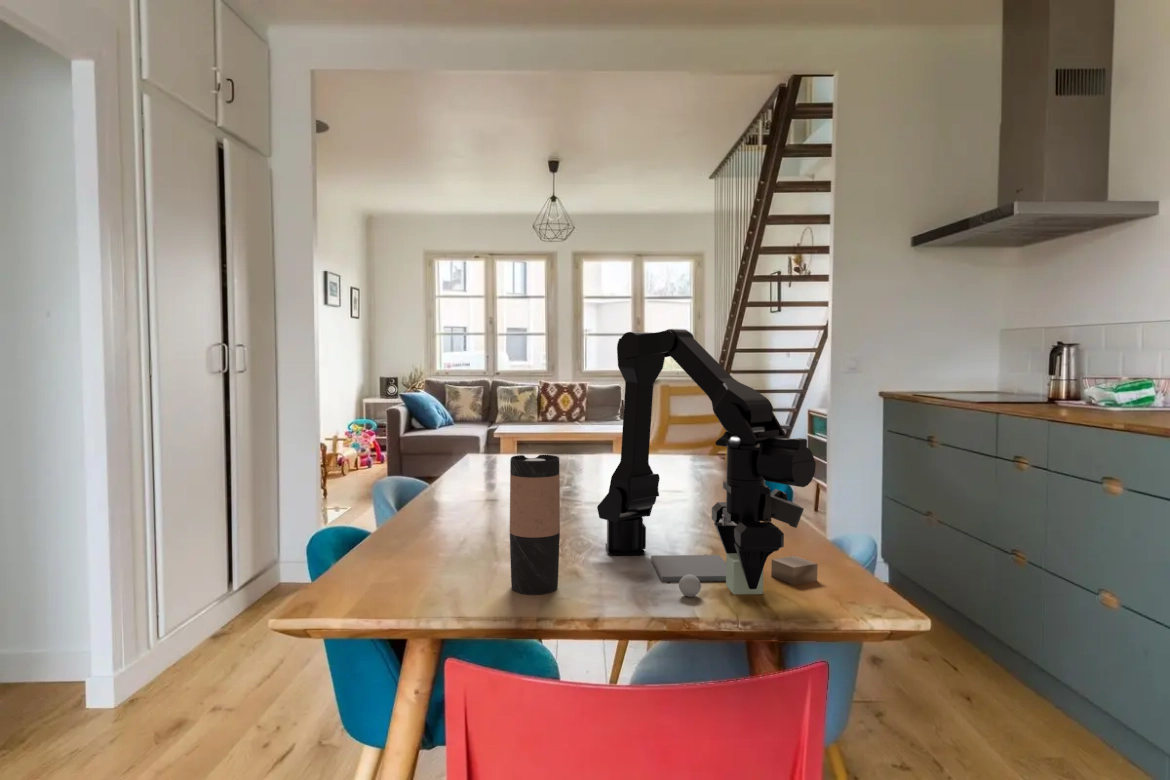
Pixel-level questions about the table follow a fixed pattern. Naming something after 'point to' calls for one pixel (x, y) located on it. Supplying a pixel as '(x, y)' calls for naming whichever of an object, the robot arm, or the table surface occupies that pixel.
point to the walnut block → (794, 570)
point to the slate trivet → (690, 567)
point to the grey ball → (689, 585)
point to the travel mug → (534, 523)
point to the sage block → (739, 577)
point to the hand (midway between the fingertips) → (744, 579)
